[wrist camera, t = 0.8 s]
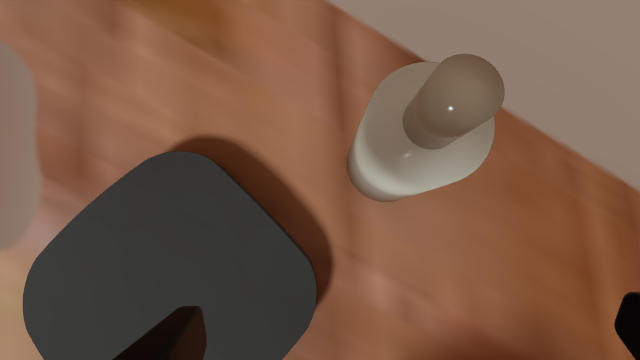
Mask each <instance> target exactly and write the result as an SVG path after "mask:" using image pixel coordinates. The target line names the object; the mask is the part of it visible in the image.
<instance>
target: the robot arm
mask: <svg viewBox="0 0 640 360" xmlns="http://www.w3.org/2000/svg"><path fill="white" fill-rule="evenodd" d="M614 324H615V330H616V332H617V334H618V336H619V337H620V339H621V340H622V342H623V343H624V344H625V346H626V347H627V348H628V350H629V351H630V352H631V354H632V355H633V357H634V358H635V359H636V360H640V292H630V293H627V294H626V295H625V296H624V297H623V300H622V302H621V305H620V308H619V311H618V314H617V316H616V319H615V323H614ZM206 345H207V334H206V329H205V323H204V318H203V312H202V309H201V307H199V306H181V307H179V308H177V309H176V310H175V311H173V312H172V313H171V314H169V315H168V316H167V317H166V318H164V319H163V320H162V321H160V322H159V323H158V324H157V325H155V326H154V327H153V328H152V329H150V330H149V331H148V332H146V333H145V334H144V335H143V336H141V337H140V338H139V339H138V340H136V341H135V342H134V343H132V344H131V345H130V346H129V347H127V348H126V349H125V350H123V351H122V352H121V353H120V354H118V355H117V356H116V357H115V358H113V359H112V360H203V359H204V355H205V350H206Z"/></svg>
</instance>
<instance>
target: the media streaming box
mask: <svg viewBox="0 0 640 360" xmlns="http://www.w3.org/2000/svg"><path fill="white" fill-rule="evenodd" d="M316 298H317V286H316V276H315V272H314V269H313V266H312V263H311V261H310V259H309V258H308V256H307V255H306V253H305V252H304V251H303V250H302V249H301V248H300V246H299V245H298V244H297V243H296V242H295V241H294V239H293V238H292V237H291V236H290V235H289V234H288V233H287V232H286V231H285V229H284V228H283V227H282V226H281V225H280V224H279V223H278V222H277V221H276V220H275V219H274V218H273V216H272V215H271V214H270V213H269V212H268V211H267V210H266V209H265V208H264V207H263V206H262V205H261V204H260V203H259V202H258V201H257V200H256V199H255V198H254V197H253V196H252V195H251V194H250V193H249V192H248V191H247V190H246V189H245V188H244V187H243V186H242V185H241V184H240V183H238V182H237V181H236V180H235V179H234V178H233V177H232V176H231V175H230V174H229V173H228V172H227V171H225V170H224V169H223V168H222V167H221V166H220V165H218V164H217V163H215V162H213V161H212V160H210V159H209V158H207V157H205V156H203V155H200V154H197V153H193V152H186V151H174V152H167V153H163V154H159V155H156V156H154V157H151V158H149V159H147V160H145V161H144V162H142V163H141V164H140V165H138V166H137V167H135V168H134V169H133V170H131V171H130V172H128V173H127V174H126V175H124V176H123V177H122V178H120V179H119V180H118V181H117V182H115V183H114V184H113V185H112V186H110V187H109V188H108V189H107V190H105V191H104V192H103V193H102V194H101V195H99V196H98V197H97V198H96V199H95V200H94V201H92V202H91V203H90V204H89V205H88V206H87V207H86V208H85V209H83V210H82V211H81V212H80V213H79V214H78V215H77V216H76V217H75V218H74V219H73V220H72V221H71V222H70V223H69V224H68V225H67V226H66V227H65V228H64V229H63V230H62V231H61V232H60V233H59V234H58V235H57V236H56V237H55V238H54V239H53V240H52V241H51V242H50V243H49V244H48V245H47V247H46V248H45V249H44V250H43V251H42V252H41V253H40V255H39V256H38V257H37V258H36V260H35V261H34V263H33V265H32V267H31V269H30V271H29V274H28V276H27V280H26V283H25V288H24V294H23V315H24V321H25V326H26V329H27V332H28V333H29V335H30V337H31V339H32V341H33V343H34V344H35V346H36V348H37V349H38V351H39V353H40V354H41V356H42V357H43V359H44V360H112V359H113V358H115V357H116V356H117V355H118V354H120V353H121V352H122V351H123V350H125V349H126V348H127V347H129V346H130V345H131V344H132V343H134V342H135V341H136V340H138V339H139V338H140V337H141V336H143V335H144V334H145V333H146V332H148V331H149V330H150V329H152V328H153V327H154V326H155V325H157V324H158V323H159V322H160V321H162V320H163V319H164V318H166V317H167V316H168V315H169V314H171V313H172V312H173V311H175V310H176V309H177V308H179V307H181V306H199V307H201V309H202V312H203V318H204V323H205V329H206V334H207V345H206V350H205V355H204V359H203V360H282V359H283V358H284V357H285V355H286V354H287V353H288V352H289V351H290V350H291V348H292V347H293V346H294V345H295V343H296V342H297V341H298V340H299V339H300V337H301V336H302V335H303V334H304V332H305V331H306V330H307V328H308V326H309V324H310V322H311V320H312V317H313V314H314V310H315V306H316Z"/></svg>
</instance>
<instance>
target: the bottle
mask: <svg viewBox="0 0 640 360" xmlns="http://www.w3.org/2000/svg"><path fill="white" fill-rule="evenodd" d="M503 99H504V85H503V81H502V78H501V76H500V74H499V73H498V71H497V70H496V69H495V68H494V66H493V65H492V64H490V63H489V62H487V61H486V60H485V59H483V58H481V57H478V56H475V55H470V54H460V55H454V56H452V57H449V58H447V59H445V60H444V61H442V62H441V63H435V62H420V63H413V64H410V65H406V66H404V67H402V68H399V69H397V70H396V71H394V72H392V73H391V74H390V75H388V76H387V77H386V78H385V79H384V80H383V81H382V82H381V83H380V84H379V86H378V87H377V89H376V90H375V92H374V94H373V96H372V98H371V100H370V102H369V105H368V107H367V109H366V112H365V114H364V116H363V118H362V121H361V123H360V125H359V128H358V130H357V132H356V135H355V137H354V139H353V141H352V144H351V146H350V148H349V151H348V155H347V171H348V175H349V178H350V180H351V182H352V183H353V185H354V186H355V187H356V189H357V190H358V191H359V192H360V193H362V194H363V195H364V196H366V197H368V198H370V199H372V200H375V201H379V202H394V201H398V200H401V199H404V198H407V197H410V196H413V195H416V194H419V193H422V192H426V191H429V190H432V189H435V188H438V187H441V186H444V185H447V184H450V183H453V182H456V181H459V180H461V179H463V178H465V177H467V176H468V175H470V174H471V173H473V172H474V171H475V170H476V169H477V168H478V167H479V166H480V165H481V164H482V163H483V161H484V160H485V158H486V157H487V155H488V153H489V151H490V149H491V146H492V142H493V138H494V126H495V124H494V115H495V114H496V113H497V112H498V111H499V109H500V108H501V105H502V103H503Z"/></svg>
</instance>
